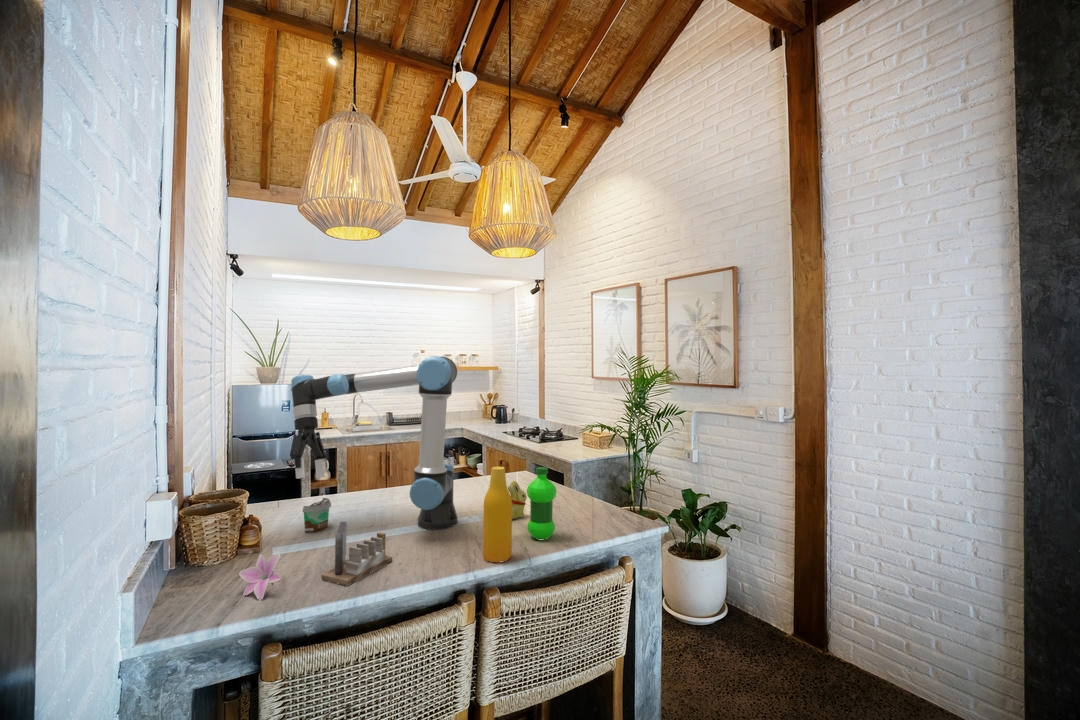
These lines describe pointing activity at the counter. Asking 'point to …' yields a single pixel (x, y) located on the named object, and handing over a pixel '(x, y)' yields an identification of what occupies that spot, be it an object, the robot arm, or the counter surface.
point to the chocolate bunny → (517, 500)
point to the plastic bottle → (541, 505)
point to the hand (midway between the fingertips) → (310, 477)
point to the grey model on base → (357, 559)
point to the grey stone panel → (343, 530)
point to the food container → (316, 516)
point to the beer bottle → (497, 518)
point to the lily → (260, 575)
